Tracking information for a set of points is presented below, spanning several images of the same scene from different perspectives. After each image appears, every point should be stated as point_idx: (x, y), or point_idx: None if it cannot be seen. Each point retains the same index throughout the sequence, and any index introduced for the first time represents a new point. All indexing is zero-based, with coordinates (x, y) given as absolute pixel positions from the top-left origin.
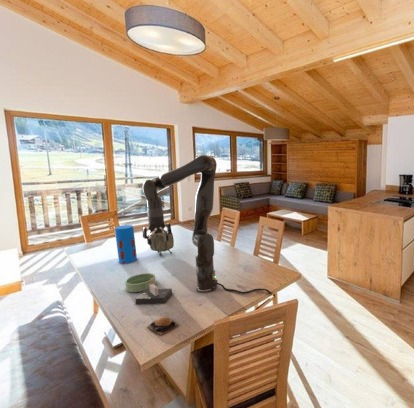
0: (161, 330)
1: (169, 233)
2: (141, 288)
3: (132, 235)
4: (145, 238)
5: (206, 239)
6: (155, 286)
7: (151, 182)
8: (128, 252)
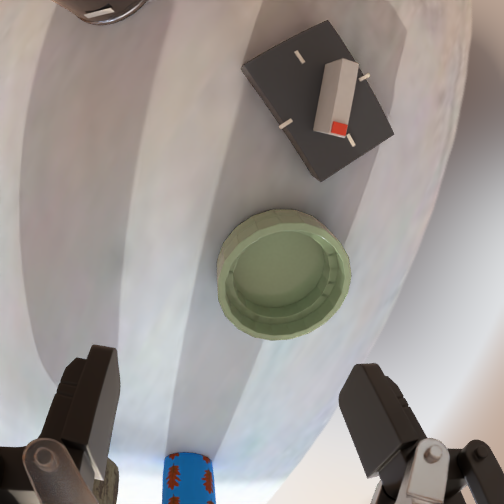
0: None
1: (3, 454)
2: (314, 219)
3: None
4: (478, 442)
5: None
6: (345, 75)
7: None
8: (192, 483)
